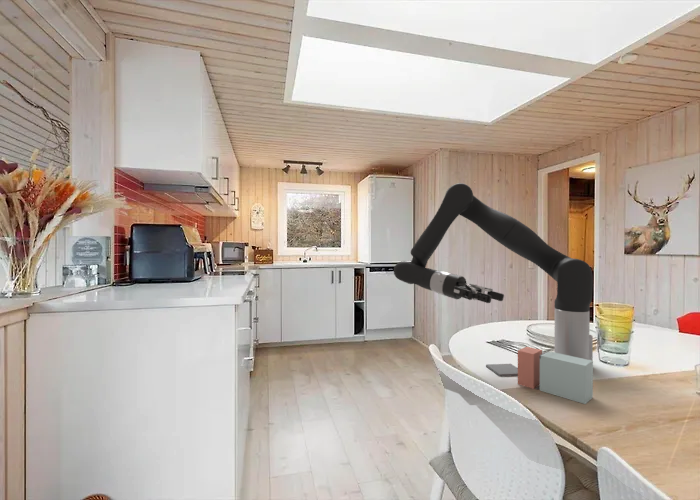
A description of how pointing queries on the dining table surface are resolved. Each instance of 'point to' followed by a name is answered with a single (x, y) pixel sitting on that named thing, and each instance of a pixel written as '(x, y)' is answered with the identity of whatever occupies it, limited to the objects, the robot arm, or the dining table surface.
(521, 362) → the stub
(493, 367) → the coaster
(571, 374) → the pale green block
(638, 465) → the dining table surface
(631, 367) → the dining table surface
